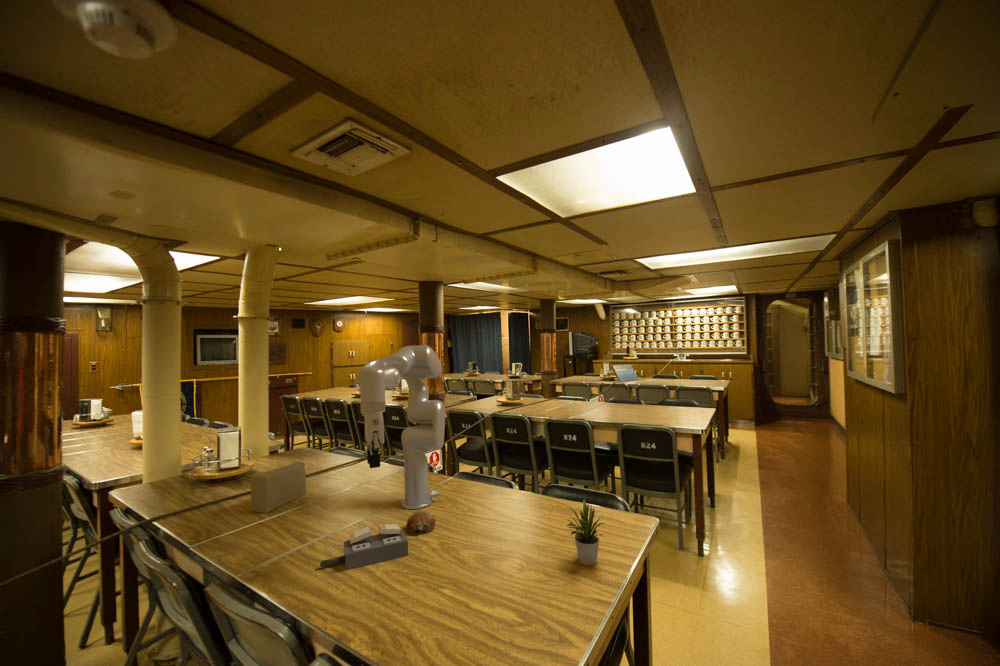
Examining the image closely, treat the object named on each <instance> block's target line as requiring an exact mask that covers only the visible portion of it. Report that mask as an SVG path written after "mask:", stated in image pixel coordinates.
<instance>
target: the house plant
mask: <svg viewBox="0 0 1000 666" xmlns="http://www.w3.org/2000/svg"><path fill="white" fill-rule="evenodd" d="M582 502H583V503H582V505H583V506H582V507H583V508H582V510H580V513H579V515H580V517H579V515H578V514H577V512H576V510H575V509H573V508H572V507H571V506H569V505H567V504H562V505H564V506H566V507H568V508H569V509H570V510H571V511H572V512H573V514H574V515H575V516H573V515H572V514H569V513H564V514H562V515H563V516H570V518H571V519H573V521H574V522H575V523H576V524H577V525H576V524H574V523H573V521H571V520H570V519H567V518H566V519H565V520H566V521H568V522H569V523H568V524H567V525H566V527H565V528H567V527H568V528H569V529H568V531H569V530H570V531H571V532H570V535H569V536H571V535H574V540H575V541H574V542H575V546H576V552H577V557H578V558H577V559H578V561H579V563H581V564H582V565H587V566H590V565H595V564H596V563H597V562H598V553H599V545H600V538H599V537H598V536H601V537H602V538H604V537H603V533H599V534H597V533H598V530H597V528H598V527H600V526H601V525H606V523H605V522H600V523H598V522H599V521H600V520H602V519H604V517H602V516H603V515H604V513H602V514H601V515H600V516H599V518H598V519H597V520H596V521H594V519H595V513H596V512H595V507H593V505H592V504H591V505H590V503H586V500H585V499H583V500H582ZM593 521H594V522H593ZM574 529H575V530H574Z"/></svg>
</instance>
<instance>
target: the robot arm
mask: <svg viewBox="0 0 1000 666" xmlns="http://www.w3.org/2000/svg"><path fill="white" fill-rule="evenodd" d="M442 368H443V366H442V363H441V359H440V358H439V356H438V355H437V353H436V351H435V350H434V349H433V348H432V347H431V346H429V345H421V344H420V345H406V346H403V347H401V348H400V349H398V350H397V351H395V352H394V353H393V354H392V355H388V356H384V357H382V358H378V359H374V360H372V361H369V362H368V363H365V364H364V365H363V366H362V367H361V368H360V369H359V370H358V372H357V374H356V385H357V386H358V387H359V389H360V414H364V437H365V441H366V443H367V452H366V453H367V454H366V457H367V459H366V461H367V464H368V465H369V468H370V469H374V468H375V469H376V468H380V467H381V450H380V444H381V445H384V443H385V427H384V426H385V425H384V416H383V413H385V412H386V390H392V389H395V388H397V387H398V386H399V384H401V378H402V376H403V378H404V381H405V382H406V385H407V388H408V399H407V411H406V412H407V413H406V414H407V415H406V416H407V420H408V421H409V422H410V423H413V424H432V425H429V426H427V425H426V426H425V425H414V426H413V425H412V426H407V427H406V428H404V429H403V431H402V432H401V437H400V438H401V445H402V449H403V461H404V463H403V465H404V466H403V467H404V468H403V469H404V470H403V471H404V476H403V477H404V499H402V500H401V501H400V506H401V507H402V508H404V509H406V510H419V509H423V508H427V507H429V506H430V505H432V503H433V498H436V497H441V494H440V491H439V490H438V491H436V490H432V491H430V490H429V467H428V465H429V464H428V462H429V461H428V457H427V456H426V453H425V452H424V451H437V450H441V449H442V448H443V446H444V443H445V430H446V429H445V428H446V408H445V404H444V402H442V401H441V400H438V399H431V400H429V399H430V397H429V395H430V389H429V387H428V384H427V383H426V382H425V381H424V379H437V378H439V376H441V374H442V370H443V369H442Z"/></svg>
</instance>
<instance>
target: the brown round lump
mask: <svg viewBox="0 0 1000 666" xmlns="http://www.w3.org/2000/svg"><path fill="white" fill-rule="evenodd" d="M435 524H436V519H435V516H434V515H433V514H432V513H431V512H430V511H427V510H425V509H423V510H422V509H421V510H416V511H414V513H412V514H411V516H409V517H408V518H407V521H406V531H407V532H408V533H409V534H410V533H411V534H410V535H415V534H418V535H419V536H421V535H424V533H425V534H428V533H429V531H430V532H432V531H433V530H434V529H435ZM431 530H432V531H431ZM427 532H428V533H427ZM420 534H421V535H420Z"/></svg>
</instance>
